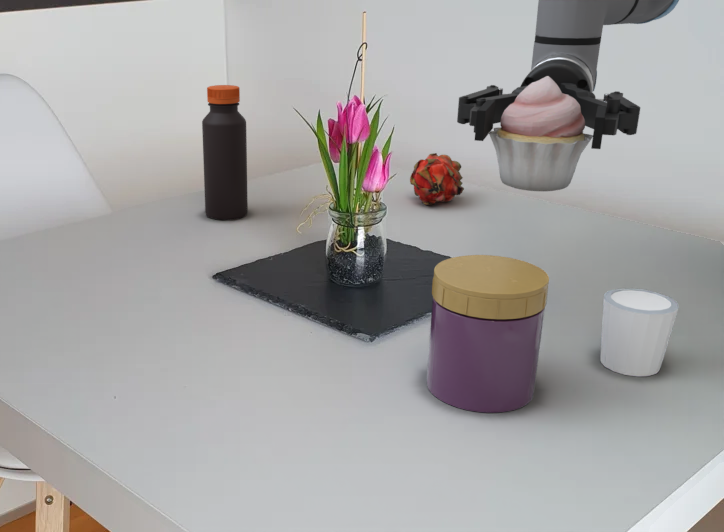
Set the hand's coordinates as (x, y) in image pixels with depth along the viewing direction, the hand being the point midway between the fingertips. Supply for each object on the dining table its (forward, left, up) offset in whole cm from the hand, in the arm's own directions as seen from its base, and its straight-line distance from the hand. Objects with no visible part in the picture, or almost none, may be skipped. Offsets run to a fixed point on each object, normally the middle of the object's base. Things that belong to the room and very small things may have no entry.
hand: (537, 129), depth 74 cm
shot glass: (-11, -6, -24) cm, 27 cm away
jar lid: (+2, +4, -13) cm, 14 cm away
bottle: (+48, -41, -24) cm, 68 cm away
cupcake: (0, -4, -6) cm, 8 cm away
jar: (+2, +4, -24) cm, 24 cm away
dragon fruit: (+18, -60, -24) cm, 67 cm away
